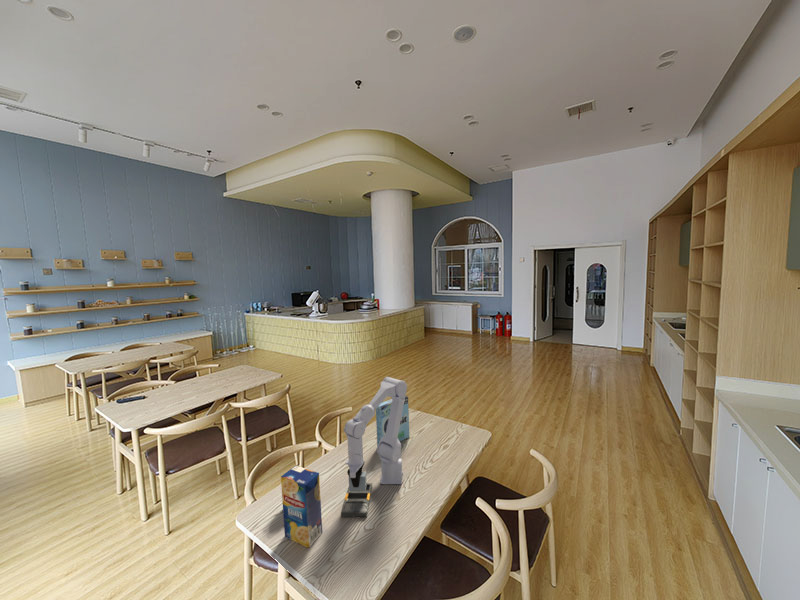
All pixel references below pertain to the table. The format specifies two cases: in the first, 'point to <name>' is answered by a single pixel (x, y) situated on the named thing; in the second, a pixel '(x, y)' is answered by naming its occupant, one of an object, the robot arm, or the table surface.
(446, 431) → the table surface
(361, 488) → the block
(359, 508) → the rack
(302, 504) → the beverage box
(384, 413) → the gum box
